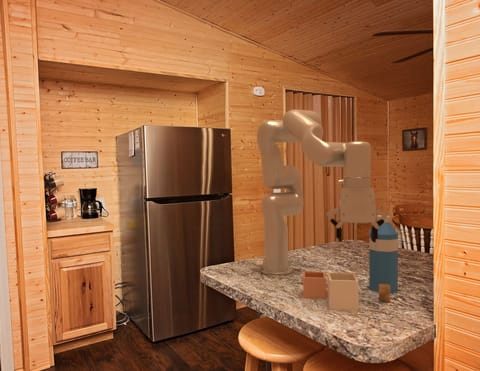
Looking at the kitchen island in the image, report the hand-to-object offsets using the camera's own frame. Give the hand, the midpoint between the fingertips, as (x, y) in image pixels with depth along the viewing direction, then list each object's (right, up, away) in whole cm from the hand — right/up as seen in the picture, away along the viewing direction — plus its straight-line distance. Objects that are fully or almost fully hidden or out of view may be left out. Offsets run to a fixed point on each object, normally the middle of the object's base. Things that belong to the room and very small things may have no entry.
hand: (356, 241), depth 109 cm
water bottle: (+13, -19, +14) cm, 27 cm away
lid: (+9, -20, +3) cm, 22 cm away
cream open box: (-4, -19, 0) cm, 20 cm away
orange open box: (-11, -19, +9) cm, 24 cm away
